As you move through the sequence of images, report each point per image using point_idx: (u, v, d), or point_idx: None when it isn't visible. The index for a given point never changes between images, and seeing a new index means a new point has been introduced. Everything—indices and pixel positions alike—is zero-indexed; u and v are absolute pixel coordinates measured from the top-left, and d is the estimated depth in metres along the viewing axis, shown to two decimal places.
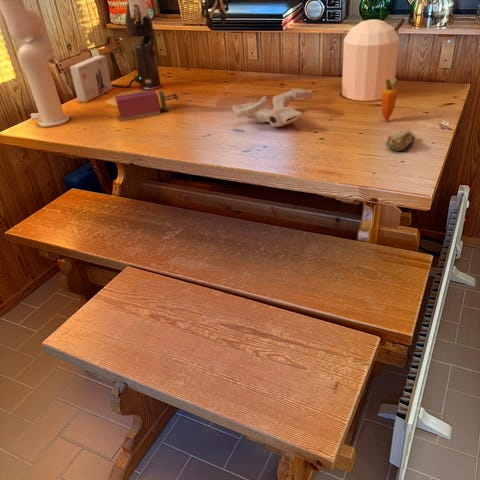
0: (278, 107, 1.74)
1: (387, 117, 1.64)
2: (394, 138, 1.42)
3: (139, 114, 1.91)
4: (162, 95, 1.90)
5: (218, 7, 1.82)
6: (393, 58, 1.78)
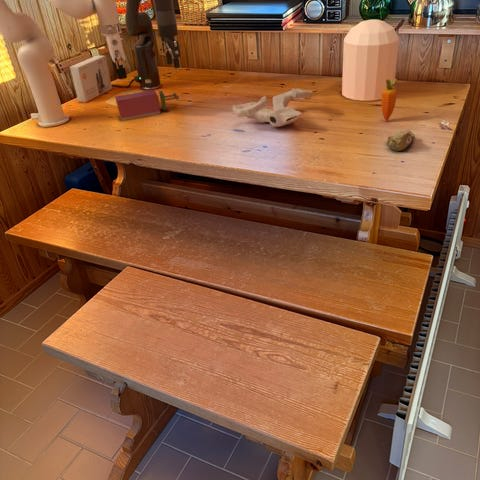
0: (278, 107, 1.74)
1: (387, 117, 1.64)
2: (394, 138, 1.42)
3: (139, 114, 1.91)
4: (162, 95, 1.90)
5: None
6: (393, 58, 1.78)
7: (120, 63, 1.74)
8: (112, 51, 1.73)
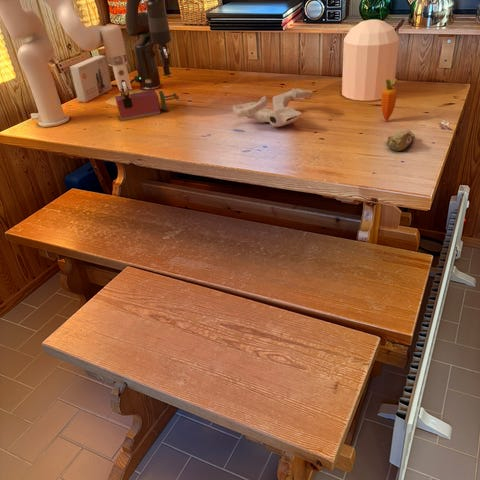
0: (278, 107, 1.74)
1: (387, 117, 1.64)
2: (394, 138, 1.42)
3: (139, 114, 1.91)
4: (162, 95, 1.90)
5: None
6: (393, 58, 1.78)
7: (126, 94, 1.81)
8: (119, 81, 1.80)
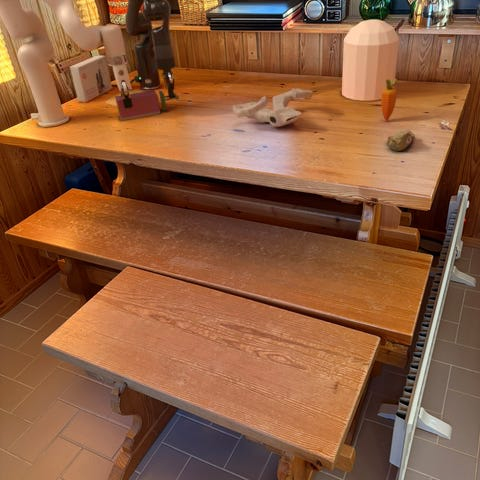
0: (278, 107, 1.74)
1: (387, 117, 1.64)
2: (394, 138, 1.42)
3: (139, 114, 1.91)
4: (162, 95, 1.90)
5: None
6: (393, 58, 1.78)
7: (126, 94, 1.81)
8: (118, 81, 1.80)
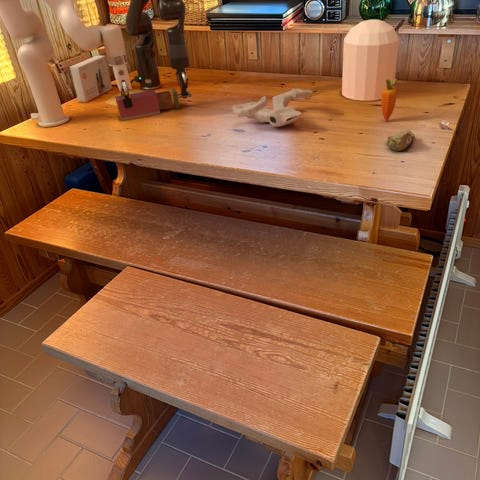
0: (278, 107, 1.74)
1: (387, 117, 1.64)
2: (394, 138, 1.42)
3: (139, 114, 1.91)
4: (175, 93, 1.91)
5: None
6: (393, 58, 1.78)
7: (126, 94, 1.81)
8: (119, 81, 1.80)
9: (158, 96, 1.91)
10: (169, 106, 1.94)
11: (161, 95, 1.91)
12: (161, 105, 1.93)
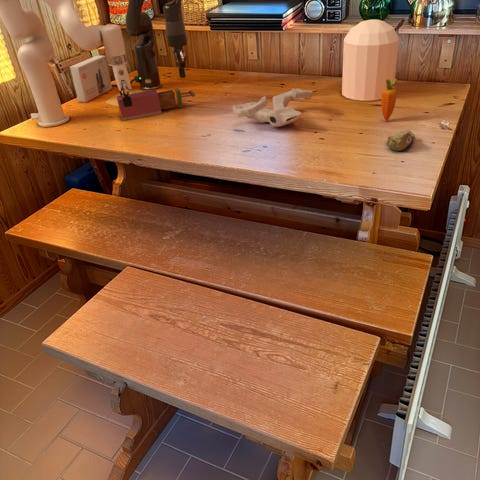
0: (278, 107, 1.74)
1: (387, 117, 1.64)
2: (394, 138, 1.42)
3: (140, 114, 1.91)
4: (178, 92, 1.92)
5: None
6: (393, 58, 1.78)
7: (126, 92, 1.80)
8: (118, 81, 1.80)
9: (161, 95, 1.91)
10: (172, 105, 1.94)
11: (164, 94, 1.91)
12: (164, 104, 1.93)
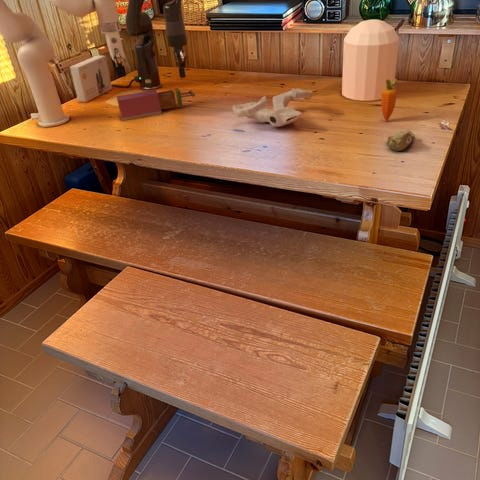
0: (278, 107, 1.74)
1: (387, 117, 1.64)
2: (394, 138, 1.42)
3: (140, 114, 1.91)
4: (178, 92, 1.92)
5: None
6: (393, 58, 1.78)
7: (119, 61, 1.73)
8: (111, 49, 1.73)
9: (161, 95, 1.91)
10: (172, 105, 1.94)
11: (164, 94, 1.91)
12: (164, 104, 1.93)
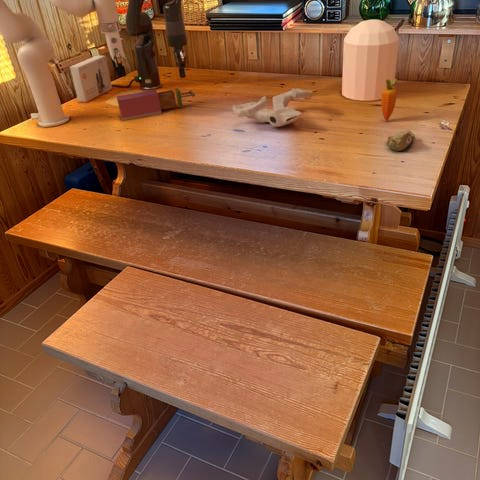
0: (278, 107, 1.74)
1: (387, 117, 1.64)
2: (394, 138, 1.42)
3: (140, 114, 1.91)
4: (178, 92, 1.92)
5: None
6: (393, 58, 1.78)
7: (119, 61, 1.73)
8: (111, 49, 1.73)
9: (161, 95, 1.91)
10: (172, 105, 1.94)
11: (164, 94, 1.91)
12: (164, 104, 1.93)
